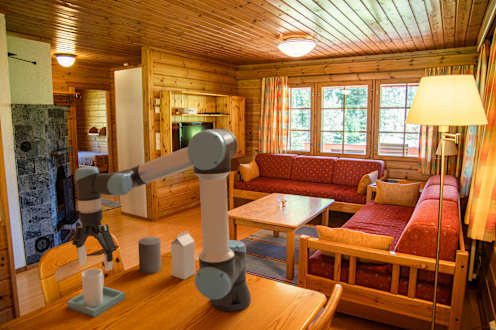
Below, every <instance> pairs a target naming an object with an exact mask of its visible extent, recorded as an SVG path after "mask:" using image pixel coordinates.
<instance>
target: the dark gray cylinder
mask: <svg viewBox="0 0 496 330" xmlns="http://www.w3.org/2000/svg"><path fill="white" fill-rule="evenodd" d="M137 242H138V243H137V244H138V262H139V263H138V264H139V270H138V271H139V272H140V273H141V274H146V275H150V274H155V273H158V272H159V271H160V270H161V269H162V254H161V253H162V252H161V250H162V249H161V248H162V247H161V238H159V237H158V236H145V237H143V238H140V239H139V240H138V241H137Z"/></svg>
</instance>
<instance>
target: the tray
mask: <svg viewBox="0 0 496 330" xmlns="http://www.w3.org/2000/svg"><path fill="white" fill-rule="evenodd" d="M102 291H103V302H102V304H101V305H99V306H97V307H93V308H90V307H88V306H85V305H84V297H83V292H82V293H81V294H79V295H77V296H74V297H73V298H71V299H69V300H67V301H66V304H67V309H70V310H73V311H76V312H79V313H81V314H84V315H86V316H90V317H92V318H96V317H98V316H99V315H100V314H103V313H104V312H106V311H107V310H109V309H111V308H112V307H114V306H115V305H117V304H119V303H120V302H122V301H124V300H125V299H126V293H125V292H124V291H121V290H118V289H115V288H112V287H111V288H110V287H107V286H104V285H103V289H102Z"/></svg>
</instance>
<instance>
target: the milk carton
mask: <svg viewBox="0 0 496 330" xmlns="http://www.w3.org/2000/svg"><path fill="white" fill-rule="evenodd" d="M170 244H171V246H170V250H171V251H170V253H171V274H172V275H171V276H173V277H176V278H178V279H182V280H186V279H188V278H190V277H191V276H194V275H196V256H195V255H196V253H195V252H196V251H195V250H196V249H195V247H196V246H195V239H194V238H193V237H192V236H191V234H190V232H189V230H187V231H183V232H181V233H179V234H177V235H176V237H175V239H174V240H173V241H172V242H171V243H170Z"/></svg>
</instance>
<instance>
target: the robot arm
mask: <svg viewBox="0 0 496 330" xmlns="http://www.w3.org/2000/svg"><path fill="white" fill-rule="evenodd" d="M237 151H238V139H237V138H236V135H234V134H233V132H231V130H229V129H226V128H221V127H220V128H213V129H210V128H209V129H203V130H201V131H199V132H196V133H195V134H194V135H193V136H192V137H191V138H190V139H189V141H188V145H187V147H184V148H181V149H178V150H176V151H173V152H171V153H168V154H165V155H163V156H160V157H158V158H155V159H152V160H149V161H146V162H144V163H142V164H138V165H135V166H133V167H130V168H127V169H124V170H123V169H122V170H120V171H115V172H112V173H111V172H110V173H109V172H107V173H105V172H103V173H101V172H100V171H99V168H98V167H97V166H86V167H85V166H84V167H79V168H76V169H75V186H76V195H77V207H78V211H79V213H78V215H79V221H77V222H75V223H76V224H75V230H74V234H73V239H72V242H71V244H72V245H73V246H75V248H76V251H77V256H78V264H79V266H82V265H84V264H87V263H88V260H87V251H86V250H87V249H86V244H85V243H86V241H87V239H88V237H89V236H91V237H94V239H96V240H97V242H98V243H99V245H100V246H101V248H102V249H103V251H104V253H103V261H104V271H105V272H108V271H110V270H113V268H114V267H113V261H114V258H113V256H114V255H113V252H116V251H117V250H118V249H117V246H116V243H115V242H114V239H113V236H112V235H111V231H110V230H109V225H108V224H107V223H105V224H102V220H103V210H102V198H101V196H102V195H103V196H104V195H105V196H106V195H107V196H116V197H117V196H118V197H119V196H126V195H128V194H129V193H130V192H131V190H132V189H135V188H138V187H141V186H144V185H146V184H149V183H152V182H154V181H158V180H161V179H163V178H166V177H169V176H171V175H174V174H178V173H180V172H183V171H186V170H189V169H192V168H193V172H194V175H195V176H197V178H198V179H199V196H200V199H199V200H200V213H201V235H202V237H201V238H202V250H201V252H200V253H199V254H198V266H199V267H198V270H197V272H195V277H194V285H195V289H196V290H197V291H198V292H199V293H200V294H201V295H202V296H203V297H204V298H207V299H209V300H210V305H211V307H212V308H214V309H215V310H216V311H219V312H225V313H234V312H235V313H236V312H239V311H243V310H245V309H246V308H248V307H249V306H250V304H251V300H252V299H251V298H252V297H251V292H250V290H249V286H248V283H247V275H246V274H247V248H246V244H245V243H244V242H242V241H239V240H236V239H235V240H234V239H230V234H229V232H230V231H229V211H228V210H229V209H228V188H227V187H228V184H227V177H228V175H230V174H231V171H232V170H231V169H232V167H231V165H232V164H231V163H232V162H231V160H232V159H233V158H234V157H235V155H236V154H237Z"/></svg>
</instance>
